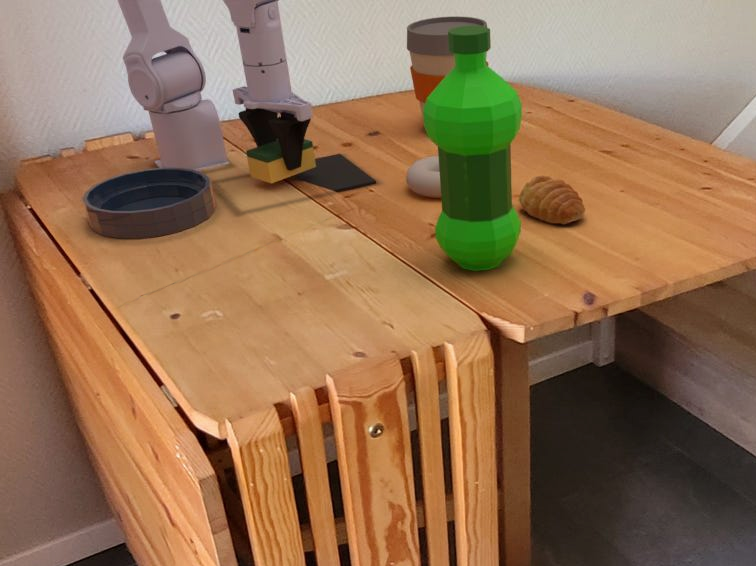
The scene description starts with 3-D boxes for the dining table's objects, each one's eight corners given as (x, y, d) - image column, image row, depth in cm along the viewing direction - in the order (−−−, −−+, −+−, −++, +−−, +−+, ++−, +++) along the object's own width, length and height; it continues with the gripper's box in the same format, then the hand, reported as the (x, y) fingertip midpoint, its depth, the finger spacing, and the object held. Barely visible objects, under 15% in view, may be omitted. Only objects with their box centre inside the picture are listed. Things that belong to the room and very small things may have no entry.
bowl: (198, 187, 137) (192, 159, 135) (231, 225, 126) (224, 195, 123) (82, 212, 132) (73, 183, 129) (104, 253, 120) (95, 222, 118)
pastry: (598, 219, 122) (599, 189, 119) (554, 232, 119) (554, 202, 117) (555, 197, 128) (555, 168, 126) (513, 209, 126) (512, 180, 123)
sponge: (295, 160, 139) (291, 135, 137) (316, 166, 136) (312, 141, 134) (250, 176, 134) (245, 150, 132) (271, 183, 132) (266, 157, 130)
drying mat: (340, 156, 145) (339, 153, 145) (376, 183, 135) (376, 180, 135) (210, 183, 138) (209, 180, 138) (238, 214, 129) (237, 211, 128)
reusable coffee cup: (445, 111, 161) (439, 13, 151) (507, 122, 155) (505, 20, 145) (397, 133, 153) (387, 30, 144) (460, 145, 147) (455, 39, 138)
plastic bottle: (463, 238, 119) (450, 16, 104) (539, 253, 115) (537, 23, 99) (418, 269, 112) (398, 37, 97) (497, 286, 108) (489, 46, 92)
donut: (395, 185, 135) (425, 206, 128) (393, 160, 133) (423, 180, 125) (459, 171, 138) (492, 191, 131) (457, 147, 136) (491, 165, 129)
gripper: (206, 60, 128) (228, 162, 137) (275, 75, 120) (292, 183, 129) (249, 48, 132) (267, 148, 141) (318, 63, 124) (333, 168, 133)
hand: (282, 164), depth 135 cm, fingers closed on sponge, 4 cm apart
